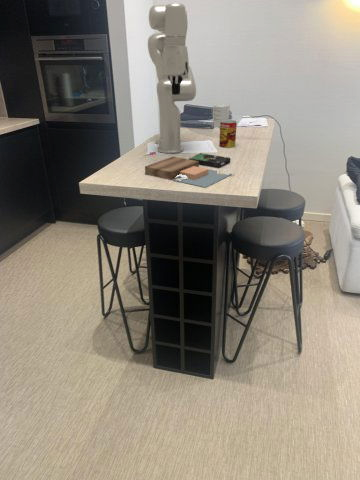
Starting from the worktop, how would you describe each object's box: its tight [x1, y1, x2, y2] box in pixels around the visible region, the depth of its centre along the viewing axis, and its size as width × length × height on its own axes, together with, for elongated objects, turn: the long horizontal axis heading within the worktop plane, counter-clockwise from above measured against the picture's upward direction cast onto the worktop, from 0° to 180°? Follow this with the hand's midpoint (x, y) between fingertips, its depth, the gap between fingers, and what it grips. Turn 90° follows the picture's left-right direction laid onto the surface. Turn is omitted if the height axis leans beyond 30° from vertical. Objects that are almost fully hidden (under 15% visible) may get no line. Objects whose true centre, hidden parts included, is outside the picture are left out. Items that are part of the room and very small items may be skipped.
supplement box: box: [212, 104, 230, 129], centre depth 229 cm, size 7×7×13 cm
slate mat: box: [172, 169, 231, 189], centre depth 140 cm, size 14×19×1 cm
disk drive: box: [189, 152, 231, 169], centre depth 158 cm, size 10×3×15 cm
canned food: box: [218, 119, 238, 149], centre depth 183 cm, size 8×8×12 cm
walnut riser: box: [144, 156, 200, 181], centre depth 147 cm, size 13×18×3 cm
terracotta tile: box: [180, 166, 210, 180], centre depth 141 cm, size 7×9×2 cm
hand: (176, 94), depth 149 cm, fingers closed
